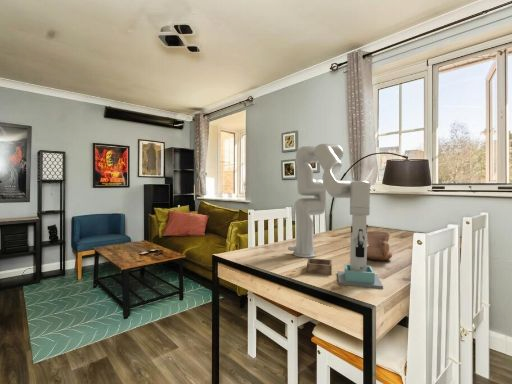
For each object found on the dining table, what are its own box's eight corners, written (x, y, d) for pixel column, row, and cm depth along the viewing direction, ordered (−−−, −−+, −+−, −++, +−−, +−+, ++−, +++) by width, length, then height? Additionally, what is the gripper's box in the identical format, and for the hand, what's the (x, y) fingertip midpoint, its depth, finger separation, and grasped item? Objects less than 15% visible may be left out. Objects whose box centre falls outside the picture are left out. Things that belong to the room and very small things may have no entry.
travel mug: (365, 276, 107) (366, 225, 107) (348, 273, 111) (349, 224, 110) (368, 272, 113) (369, 224, 112) (352, 269, 116) (352, 222, 116)
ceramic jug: (356, 254, 153) (356, 229, 152) (381, 254, 154) (381, 229, 153) (372, 265, 135) (373, 236, 134) (400, 264, 136) (401, 235, 135)
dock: (338, 284, 107) (339, 271, 107) (337, 273, 121) (337, 262, 121) (383, 288, 103) (383, 275, 103) (376, 276, 117) (377, 265, 116)
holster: (306, 272, 122) (306, 263, 121) (308, 266, 131) (308, 258, 131) (331, 274, 119) (331, 265, 119) (331, 268, 128) (331, 259, 128)
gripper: (348, 209, 121) (347, 249, 121) (351, 213, 104) (350, 259, 104) (366, 209, 119) (365, 250, 119) (372, 213, 102) (371, 261, 102)
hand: (358, 254), depth 112 cm, fingers closed on travel mug, 6 cm apart
